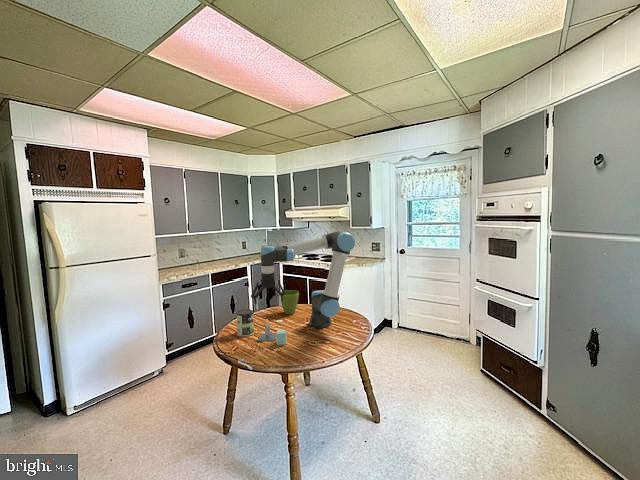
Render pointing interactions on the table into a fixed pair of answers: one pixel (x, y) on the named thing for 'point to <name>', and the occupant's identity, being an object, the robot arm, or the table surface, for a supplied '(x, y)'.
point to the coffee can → (245, 322)
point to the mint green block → (281, 337)
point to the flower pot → (290, 301)
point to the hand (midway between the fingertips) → (268, 307)
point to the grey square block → (267, 334)
